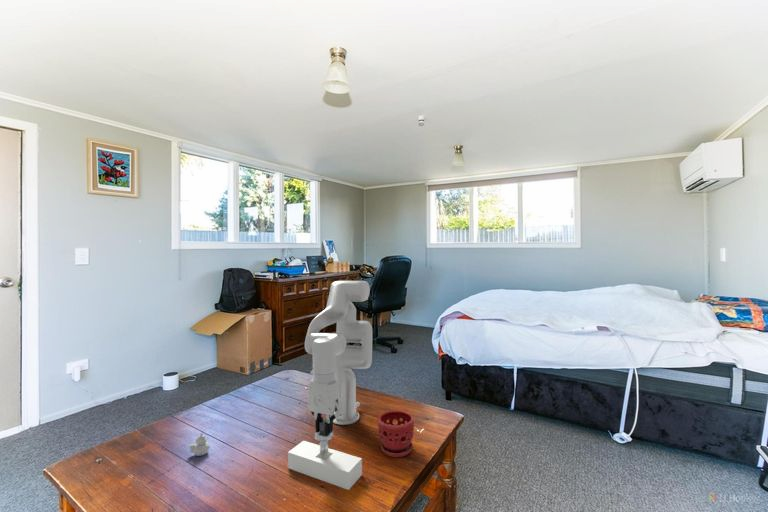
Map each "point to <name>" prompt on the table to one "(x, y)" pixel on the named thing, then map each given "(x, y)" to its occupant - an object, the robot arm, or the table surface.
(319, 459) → the bar
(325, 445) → the silver and black post
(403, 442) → the plant pot
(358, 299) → the robot arm
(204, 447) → the grey rounded lumpy piece
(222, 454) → the table surface
